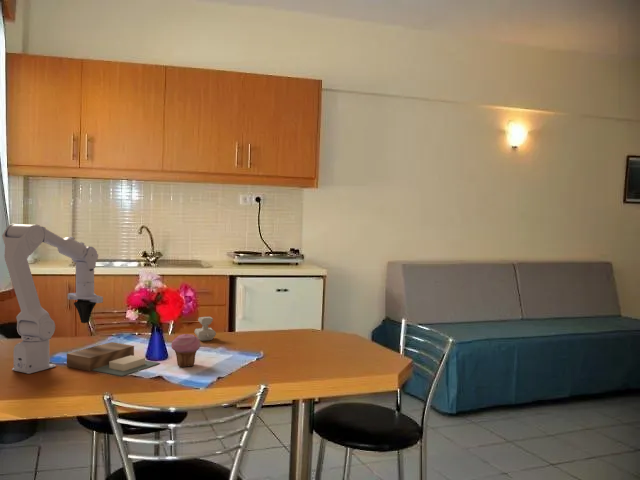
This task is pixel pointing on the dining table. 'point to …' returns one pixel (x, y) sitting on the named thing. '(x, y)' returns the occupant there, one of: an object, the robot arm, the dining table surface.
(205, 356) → the dining table surface
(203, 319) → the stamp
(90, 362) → the panel
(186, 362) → the cupcake
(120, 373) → the mat
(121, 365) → the beige flat block
